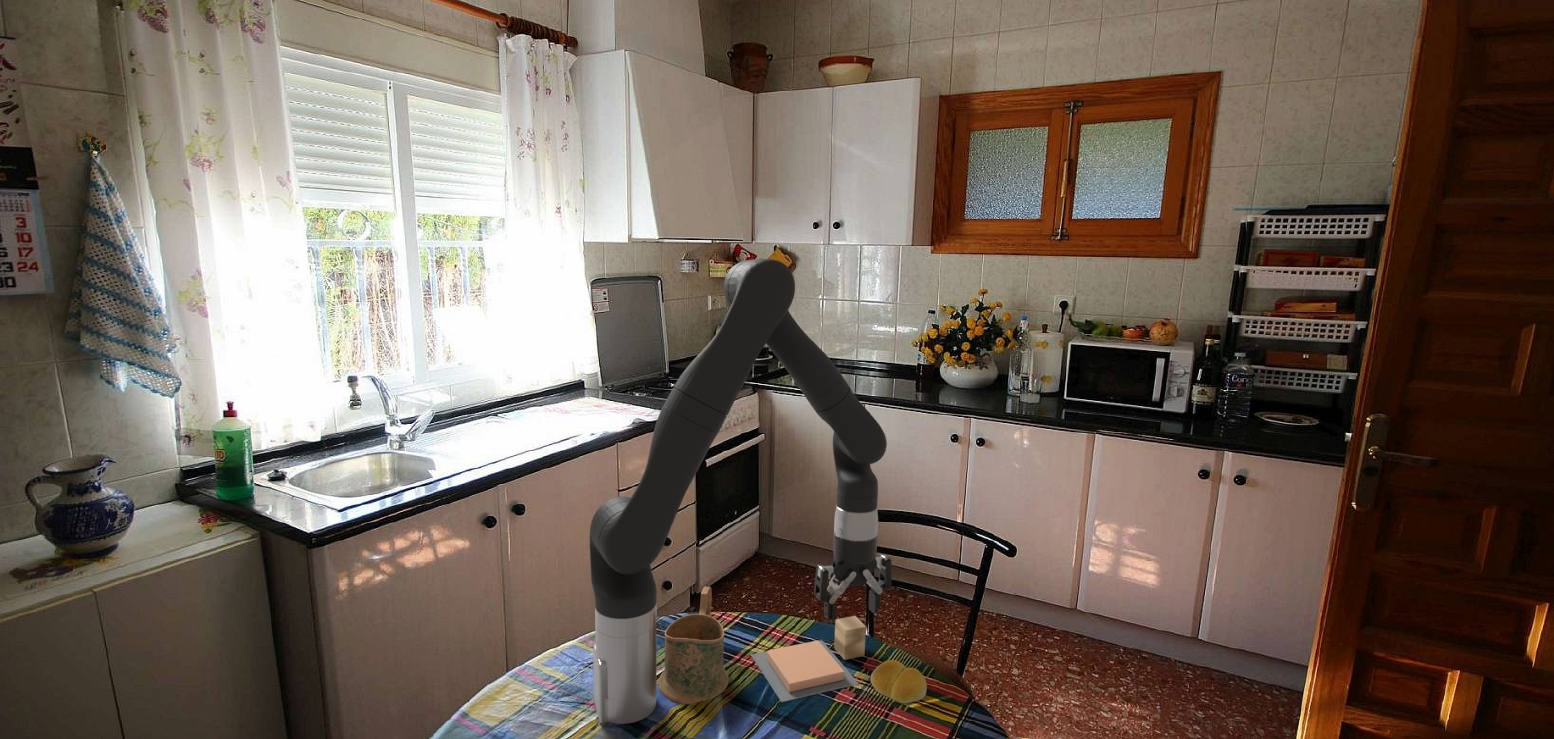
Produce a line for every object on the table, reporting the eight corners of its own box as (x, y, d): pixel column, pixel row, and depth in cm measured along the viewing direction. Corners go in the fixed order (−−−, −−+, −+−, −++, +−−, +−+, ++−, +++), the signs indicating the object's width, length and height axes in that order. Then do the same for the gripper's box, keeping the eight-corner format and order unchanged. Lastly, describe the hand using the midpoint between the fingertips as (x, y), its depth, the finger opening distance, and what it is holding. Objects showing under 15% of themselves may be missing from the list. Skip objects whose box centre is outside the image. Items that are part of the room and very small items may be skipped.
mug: (739, 645, 129) (740, 584, 127) (722, 707, 112) (723, 637, 110) (676, 640, 130) (677, 579, 128) (650, 700, 113) (650, 631, 111)
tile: (766, 659, 124) (789, 693, 115) (766, 650, 124) (789, 683, 115) (817, 649, 128) (843, 680, 119) (818, 640, 128) (844, 671, 119)
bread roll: (913, 713, 112) (915, 690, 112) (864, 690, 118) (865, 668, 117) (935, 688, 119) (937, 666, 118) (887, 668, 124) (888, 647, 123)
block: (844, 662, 125) (845, 630, 124) (834, 649, 129) (835, 619, 128) (864, 657, 127) (866, 626, 126) (853, 645, 130) (855, 615, 129)
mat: (781, 704, 113) (781, 701, 113) (750, 656, 126) (750, 654, 126) (858, 685, 118) (858, 683, 118) (821, 642, 131) (821, 640, 131)
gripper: (880, 516, 130) (876, 599, 133) (809, 527, 124) (807, 613, 127) (902, 532, 123) (897, 618, 126) (828, 544, 118) (825, 634, 121)
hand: (852, 615), depth 127 cm, fingers open, 8 cm apart
